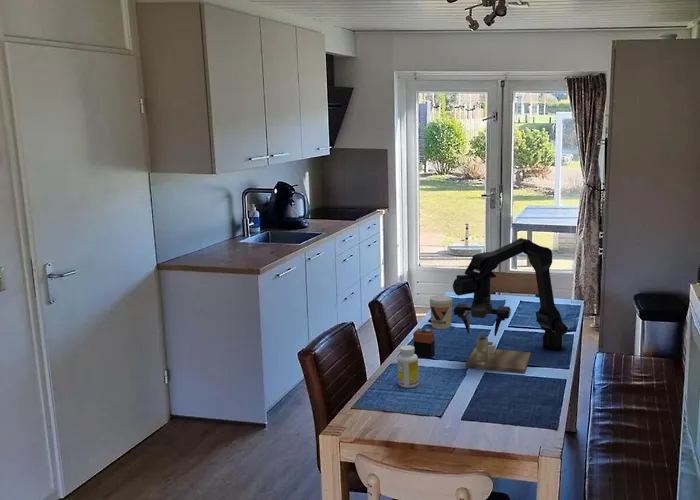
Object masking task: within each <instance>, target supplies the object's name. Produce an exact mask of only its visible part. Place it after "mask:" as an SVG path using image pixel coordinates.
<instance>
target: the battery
mask: <svg viewBox="0 0 700 500" xmlns="http://www.w3.org/2000/svg"><path fill="white" fill-rule="evenodd" d="M412 335H413V347H414V348H415V351H414V354H416V355H417V357H422V358H428V359H431V358H432V357H434V355H435V353H436V352H435V351H436V350H435V349H436V347H435V331H433V330H431V328H426V329H422V328H419V327H418V328H417V329H416V330H415V331H414V332H413V334H412Z"/></svg>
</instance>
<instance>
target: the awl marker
mask: <svg viewBox="0 0 700 500" xmlns="http://www.w3.org/2000/svg"><path fill="white" fill-rule="evenodd" d="M488 340H489V337H487V336H486V335H485V334H483V333H482V334H480V333H479V335H478V337H477V339H476V348H477V361H478V362H487V360H488V342H489V341H488Z"/></svg>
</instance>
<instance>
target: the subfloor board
mask: <svg viewBox="0 0 700 500" xmlns="http://www.w3.org/2000/svg"><path fill="white" fill-rule="evenodd" d="M531 353H532V352H530V351H518V350H510V349H509V350H508V349H507V350H506V349H497V348H496V351H495V353H494V354H488V360H487V362H478V361H477V347H474V349H473V350H472V351H471V353H470V356H469V357H468V359H467V360H466V362H465V369H475V370H483V371H484V370H485V371H493V372H494V371H496V372H504V373H505V372H506V373H515V374H516V373H517V374H525V373H526V370H527V368H528V365H529V362H530V360H531V359H530V358H531Z"/></svg>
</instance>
